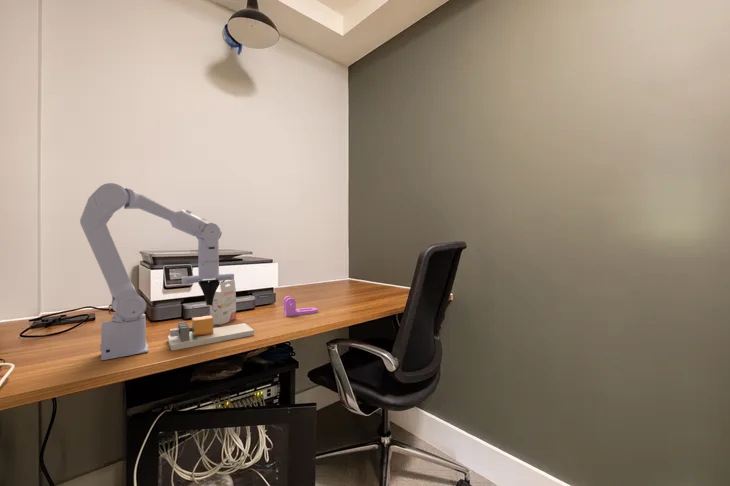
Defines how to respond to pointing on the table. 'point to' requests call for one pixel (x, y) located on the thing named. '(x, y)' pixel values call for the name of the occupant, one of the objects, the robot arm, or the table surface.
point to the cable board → (185, 338)
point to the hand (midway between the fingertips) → (209, 304)
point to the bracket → (291, 308)
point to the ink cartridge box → (224, 303)
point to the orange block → (202, 325)
